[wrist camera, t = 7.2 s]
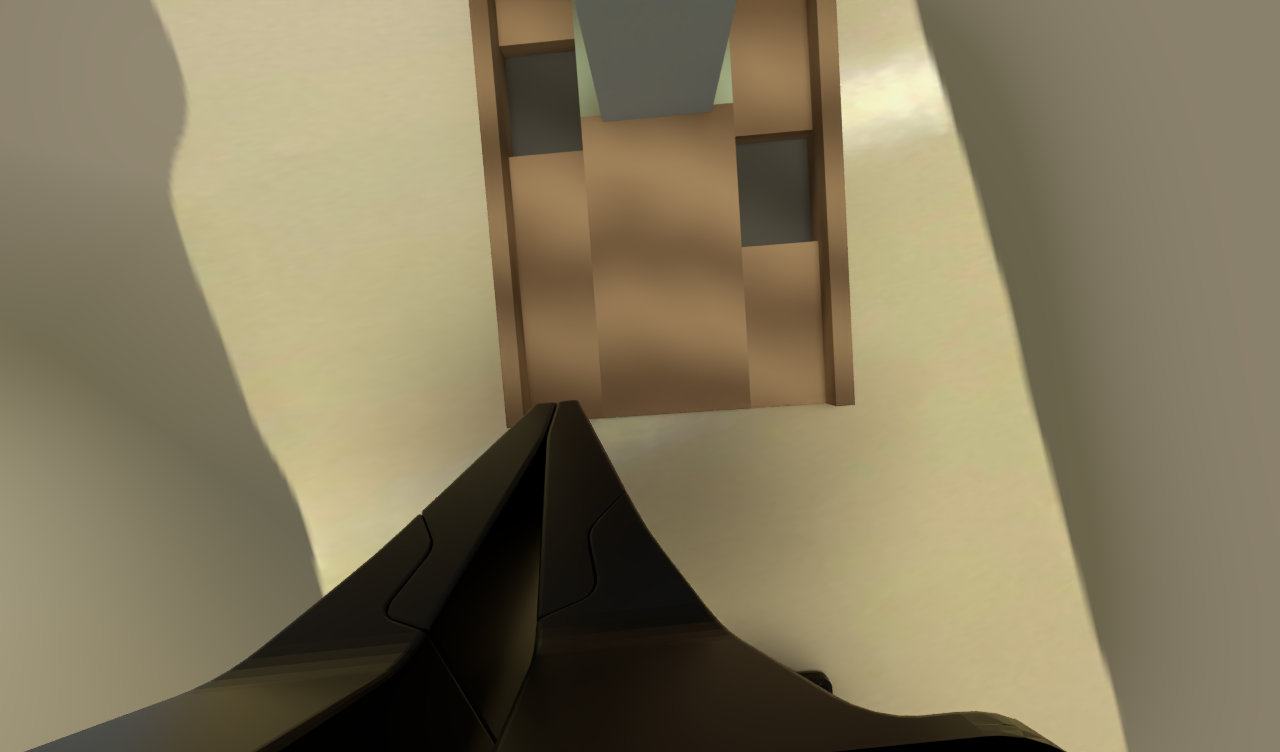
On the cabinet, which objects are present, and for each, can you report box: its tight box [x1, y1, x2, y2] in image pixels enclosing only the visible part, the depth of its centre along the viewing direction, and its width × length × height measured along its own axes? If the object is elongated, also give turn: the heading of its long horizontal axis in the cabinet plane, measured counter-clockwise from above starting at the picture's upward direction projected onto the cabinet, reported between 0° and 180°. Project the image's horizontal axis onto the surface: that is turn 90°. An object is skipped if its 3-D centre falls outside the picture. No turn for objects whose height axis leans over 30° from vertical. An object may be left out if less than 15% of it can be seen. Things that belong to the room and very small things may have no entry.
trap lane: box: [469, 0, 855, 428], centre depth 20 cm, size 24×16×4 cm, turn 4°
